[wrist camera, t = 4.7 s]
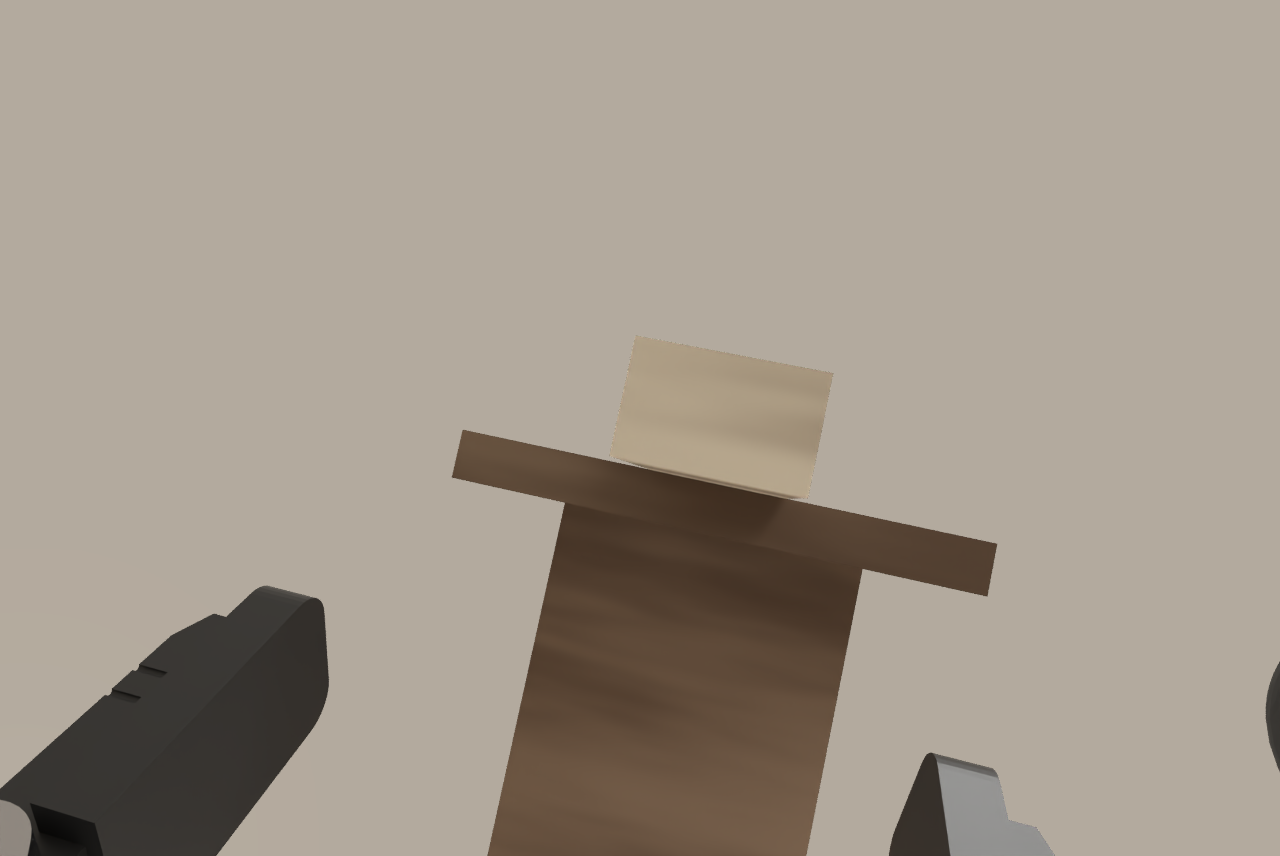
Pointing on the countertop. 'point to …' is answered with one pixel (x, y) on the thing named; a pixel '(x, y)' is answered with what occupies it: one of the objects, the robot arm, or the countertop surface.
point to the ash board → (721, 418)
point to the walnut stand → (686, 656)
